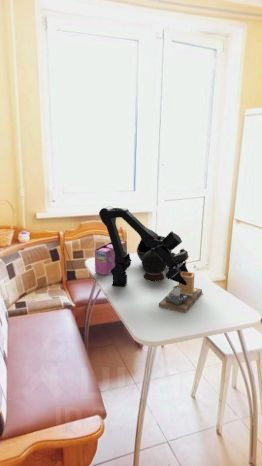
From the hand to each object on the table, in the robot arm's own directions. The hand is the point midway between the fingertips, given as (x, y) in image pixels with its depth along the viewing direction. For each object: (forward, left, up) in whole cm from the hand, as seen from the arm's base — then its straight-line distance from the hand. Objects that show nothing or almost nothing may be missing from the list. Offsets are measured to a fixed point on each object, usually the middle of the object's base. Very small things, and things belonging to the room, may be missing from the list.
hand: (188, 281), depth 153 cm
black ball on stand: (-18, +18, -7) cm, 26 cm away
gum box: (-43, +28, -7) cm, 52 cm away
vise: (-4, -11, -5) cm, 12 cm away
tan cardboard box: (-1, 0, -5) cm, 5 cm away
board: (-3, -6, -6) cm, 9 cm away
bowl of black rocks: (-20, +36, -7) cm, 42 cm away
